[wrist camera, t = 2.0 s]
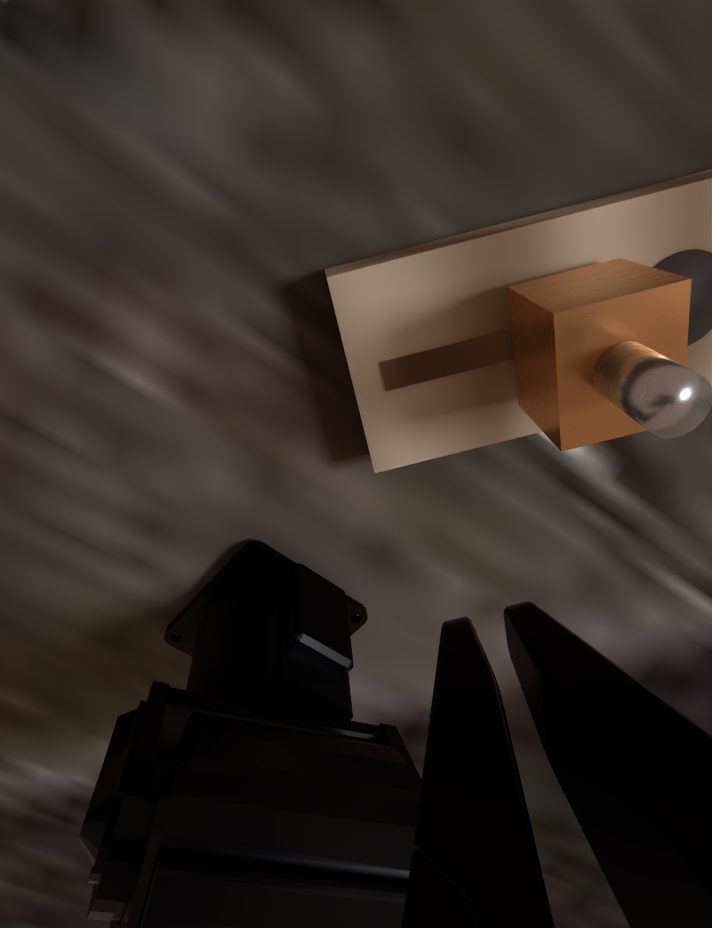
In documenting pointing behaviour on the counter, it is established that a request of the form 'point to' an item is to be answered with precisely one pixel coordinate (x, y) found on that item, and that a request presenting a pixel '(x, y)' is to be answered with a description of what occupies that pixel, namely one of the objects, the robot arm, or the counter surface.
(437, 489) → the counter surface
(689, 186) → the bolt plate
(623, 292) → the orange slider block
